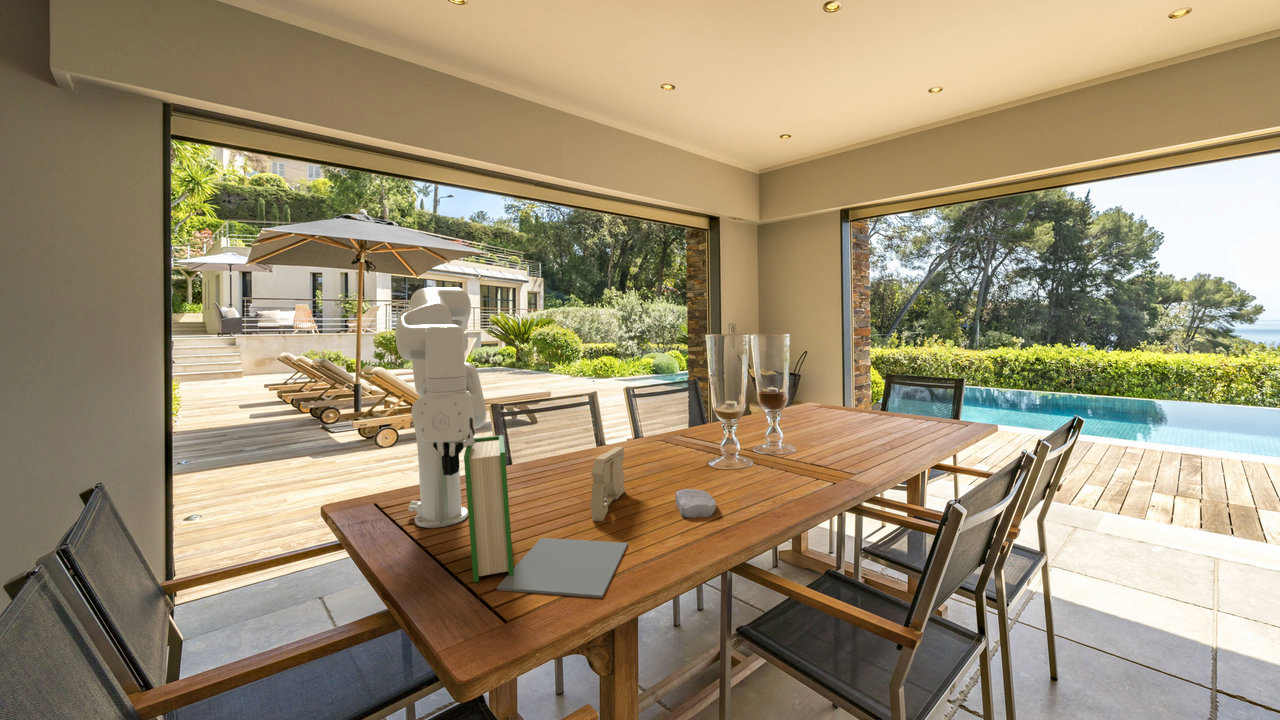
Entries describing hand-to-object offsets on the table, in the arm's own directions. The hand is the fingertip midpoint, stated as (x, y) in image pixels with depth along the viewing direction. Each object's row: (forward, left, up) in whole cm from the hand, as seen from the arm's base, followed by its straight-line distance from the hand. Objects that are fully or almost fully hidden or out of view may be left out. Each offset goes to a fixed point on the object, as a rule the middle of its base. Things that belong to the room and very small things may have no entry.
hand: (451, 473), depth 107 cm
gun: (+25, +35, -19) cm, 47 cm away
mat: (+25, 0, -18) cm, 31 cm away
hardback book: (+9, 0, -18) cm, 20 cm away
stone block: (+48, +35, -19) cm, 62 cm away
